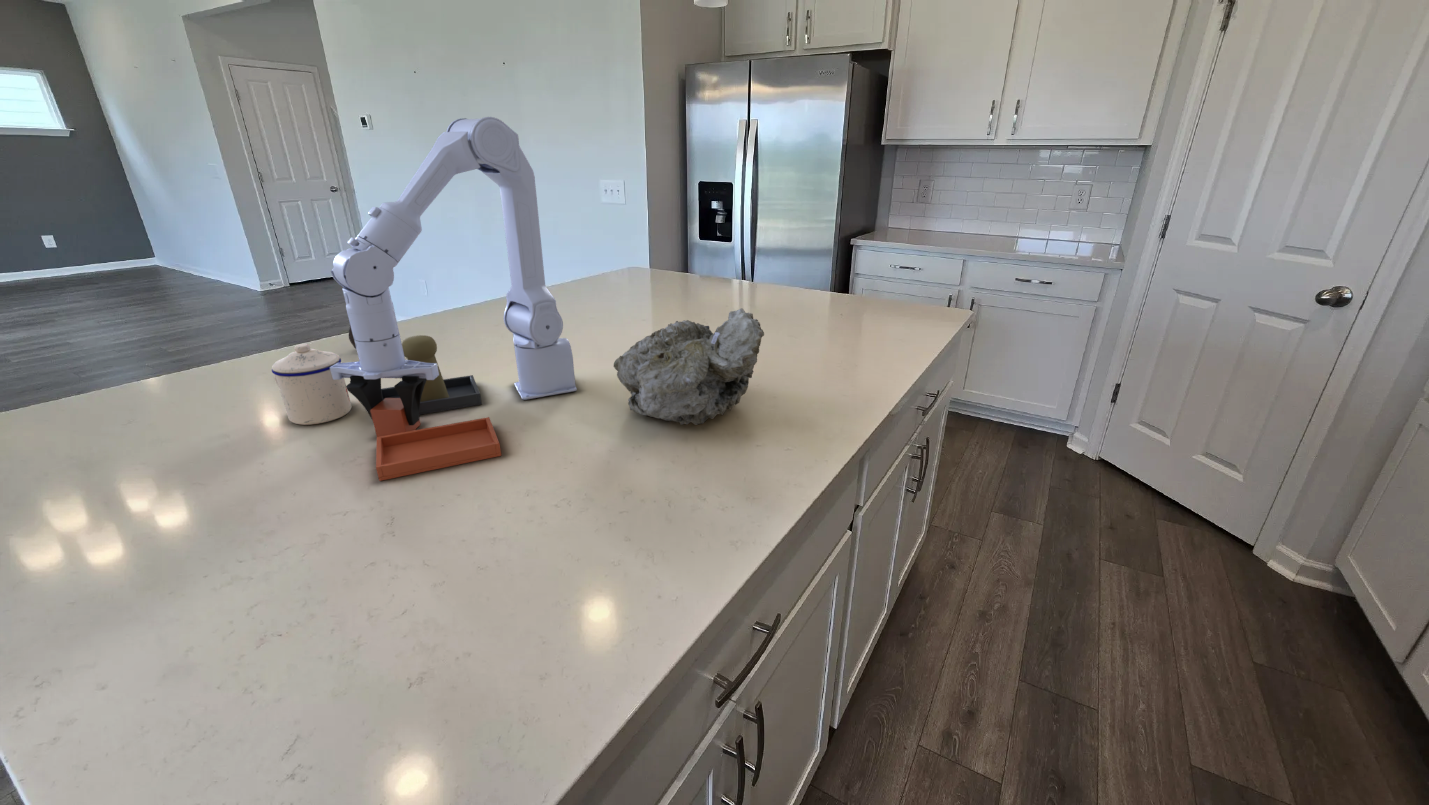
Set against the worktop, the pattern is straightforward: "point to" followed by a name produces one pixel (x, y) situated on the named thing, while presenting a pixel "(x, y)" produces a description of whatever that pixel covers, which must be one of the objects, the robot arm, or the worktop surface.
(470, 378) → the charcoal tray
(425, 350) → the cork
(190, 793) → the worktop surface
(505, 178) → the robot arm
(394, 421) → the terracotta block
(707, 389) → the rock
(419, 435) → the terracotta tray
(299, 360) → the lidded enamel canister
